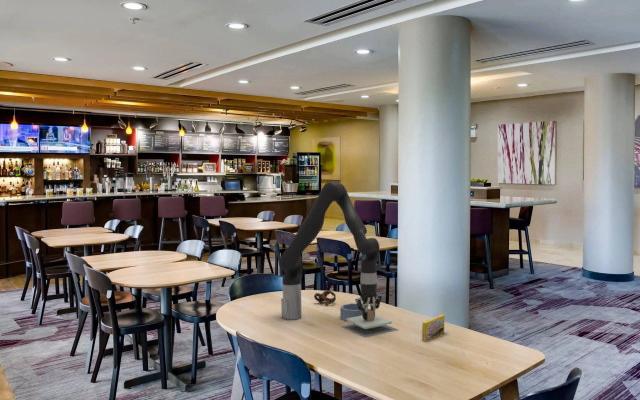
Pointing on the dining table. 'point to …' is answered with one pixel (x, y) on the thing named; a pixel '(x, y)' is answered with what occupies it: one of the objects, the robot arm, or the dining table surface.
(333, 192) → the robot arm
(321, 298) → the brown looped knot
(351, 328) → the mat
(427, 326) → the candy box
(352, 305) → the bowl
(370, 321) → the lid
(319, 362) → the dining table surface
